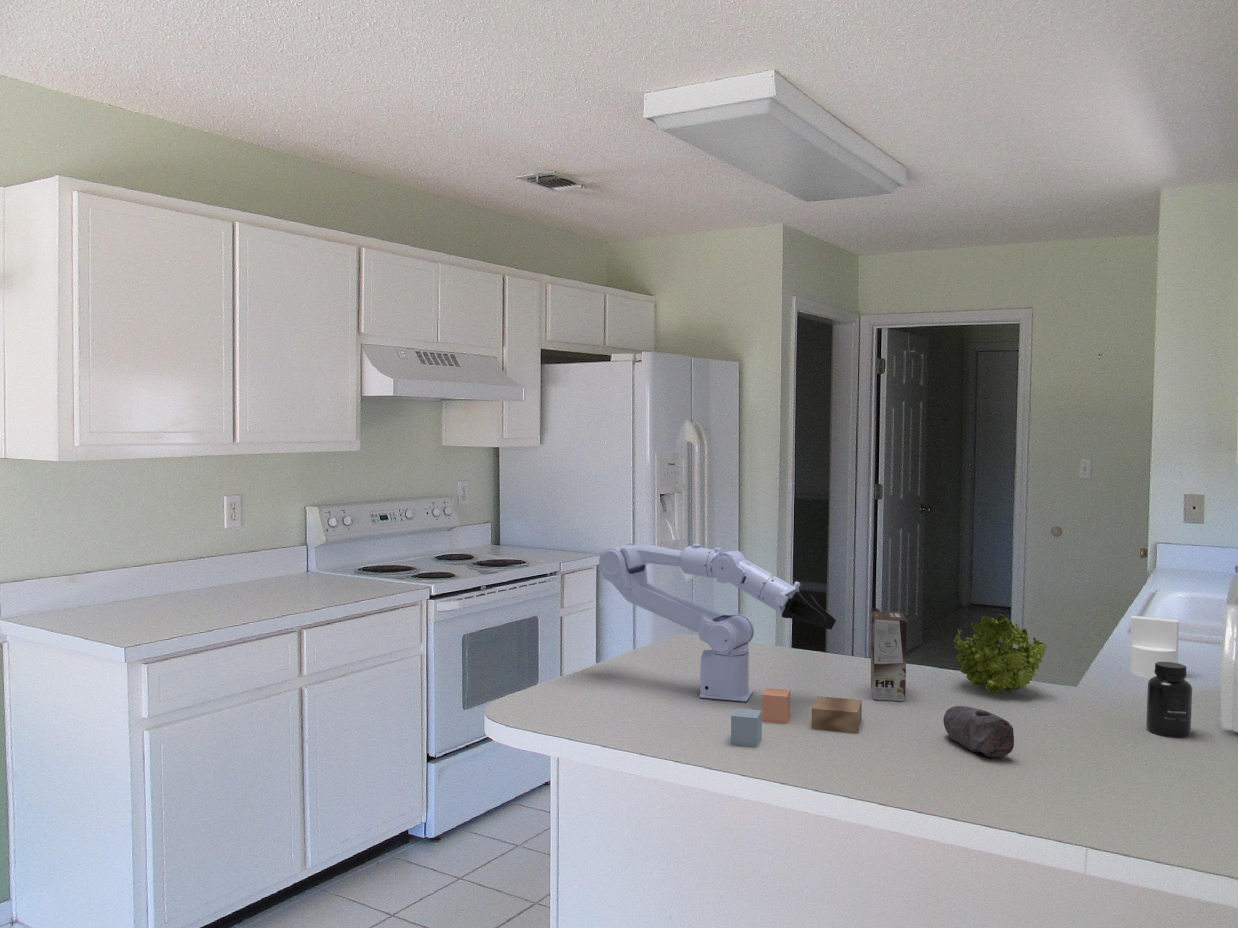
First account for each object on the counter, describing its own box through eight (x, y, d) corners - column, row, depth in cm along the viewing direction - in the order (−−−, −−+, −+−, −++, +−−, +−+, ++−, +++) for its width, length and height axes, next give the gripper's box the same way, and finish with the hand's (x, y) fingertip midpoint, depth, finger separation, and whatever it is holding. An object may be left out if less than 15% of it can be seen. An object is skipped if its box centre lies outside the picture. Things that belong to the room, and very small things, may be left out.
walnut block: (811, 730, 171) (811, 708, 170) (817, 717, 178) (817, 695, 178) (857, 734, 168) (857, 712, 168) (861, 721, 175) (861, 699, 175)
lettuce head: (1069, 669, 192) (1048, 628, 183) (1017, 724, 191) (994, 686, 181) (998, 624, 207) (976, 584, 197) (950, 675, 205) (925, 637, 196)
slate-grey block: (730, 744, 163) (731, 715, 162) (736, 736, 167) (736, 708, 167) (757, 747, 161) (757, 718, 161) (761, 738, 165) (761, 710, 165)
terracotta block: (762, 721, 175) (762, 694, 175) (766, 714, 179) (766, 687, 179) (786, 723, 174) (786, 696, 173) (790, 716, 178) (790, 689, 178)
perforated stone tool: (933, 735, 167) (933, 696, 166) (958, 732, 168) (959, 694, 168) (990, 765, 152) (990, 722, 152) (1017, 762, 154) (1018, 719, 153)
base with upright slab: (1178, 671, 207) (1179, 617, 207) (1176, 681, 200) (1178, 624, 199) (1131, 666, 212) (1132, 612, 212) (1128, 675, 205) (1129, 620, 204)
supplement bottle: (1175, 740, 163) (1176, 671, 163) (1137, 729, 169) (1139, 662, 169) (1199, 734, 167) (1201, 666, 166) (1161, 723, 173) (1163, 657, 172)
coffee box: (906, 701, 186) (907, 620, 186) (872, 700, 188) (873, 618, 187) (902, 688, 195) (903, 610, 194) (870, 687, 197) (870, 609, 196)
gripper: (766, 566, 179) (829, 602, 173) (787, 573, 192) (847, 607, 186) (748, 599, 180) (811, 636, 173) (771, 604, 192) (829, 639, 186)
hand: (828, 624), depth 179 cm, fingers open, 7 cm apart
